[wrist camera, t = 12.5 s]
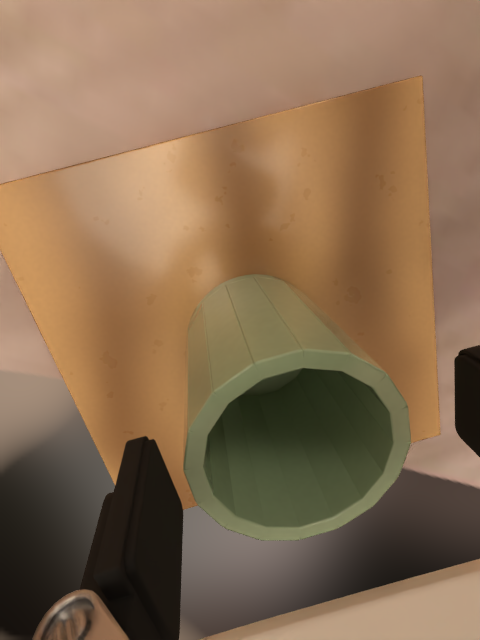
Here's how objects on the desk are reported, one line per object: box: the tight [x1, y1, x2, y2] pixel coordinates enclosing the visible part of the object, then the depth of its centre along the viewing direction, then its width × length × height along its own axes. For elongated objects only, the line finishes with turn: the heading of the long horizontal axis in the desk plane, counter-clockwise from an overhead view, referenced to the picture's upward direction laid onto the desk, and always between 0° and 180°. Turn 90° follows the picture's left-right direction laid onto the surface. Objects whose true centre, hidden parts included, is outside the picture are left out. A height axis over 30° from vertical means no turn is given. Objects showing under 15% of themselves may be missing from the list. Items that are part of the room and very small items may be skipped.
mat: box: [0, 76, 440, 510], centre depth 20 cm, size 20×20×1 cm
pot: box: [183, 274, 411, 540], centre depth 16 cm, size 7×7×9 cm
